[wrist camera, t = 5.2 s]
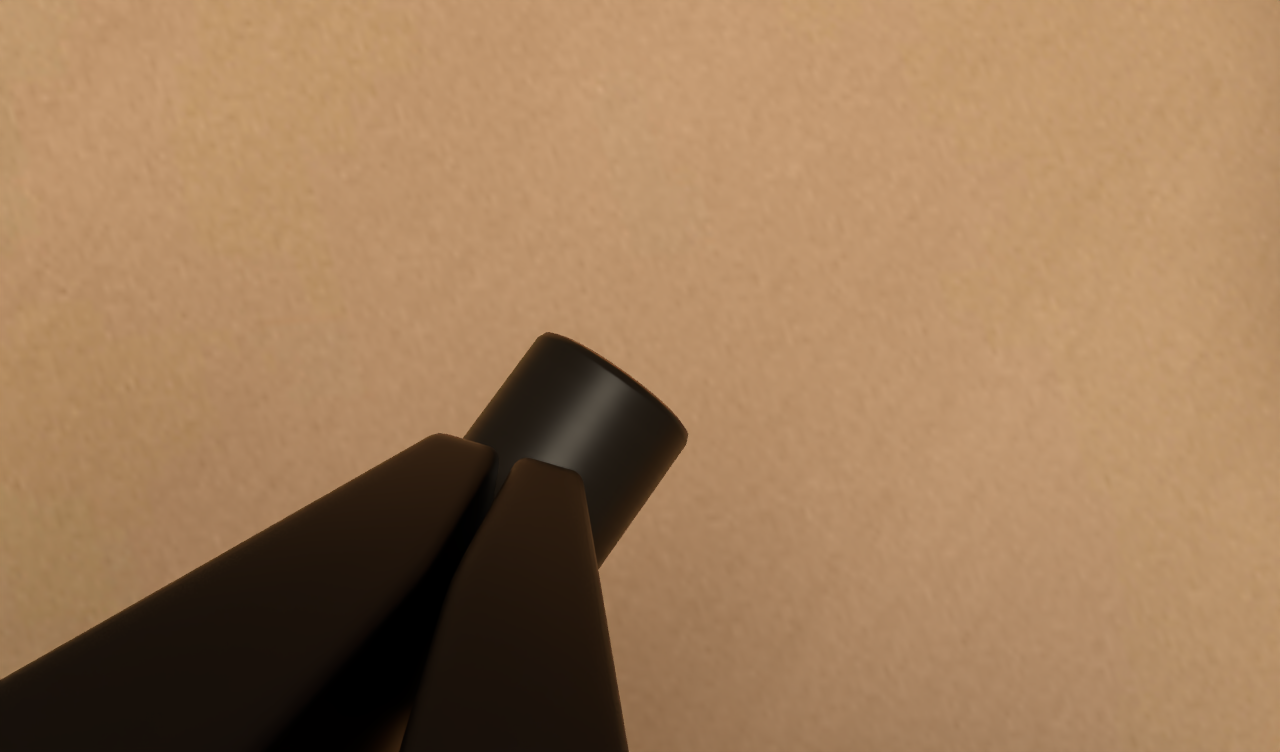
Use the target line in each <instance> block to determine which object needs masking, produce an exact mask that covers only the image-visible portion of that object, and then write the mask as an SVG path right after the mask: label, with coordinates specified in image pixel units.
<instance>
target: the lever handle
mask: <svg viewBox="0 0 1280 752" xmlns="http://www.w3.org/2000/svg"><path fill="white" fill-rule="evenodd" d="M687 438H688V433H687V430H686V429H685V427H684V426H683V424H682V423H681V421H680V420H679V419H678V417H677V416H676V415H675V414H674V413H673V412H672V411H671V410H670V409H669V408H668V407H667V406H666V405H665V404H664V403H663V402H662V401H661V400H660V399H658V398H657V397H656V396H655V395H654V394H653V393H651V392H650V391H649V390H648V389H647V388H645V387H644V386H643V385H642V384H640V383H639V382H638V381H636V380H635V379H634V378H632V377H631V376H630V375H628V374H627V373H626V372H624V371H623V370H621V369H620V368H619V367H617V366H616V365H614V364H613V363H611V362H610V361H608V360H607V359H605V358H604V357H602V356H600V355H599V354H597V353H596V352H594V351H592V350H591V349H589V348H587V347H585V346H584V345H582V344H580V343H578V342H576V341H574V340H572V339H569V338H567V337H564V336H561V335H558V334H554V333H550V332H547V333H545V334H543V335H541V336H539V337H538V338H537V339H536V340H535V342H534V343H533V345H532V346H531V347H530V349H529V350H528V351H527V353H526V354H525V355H524V357H523V358H522V359H521V361H520V362H519V363H518V365H517V366H516V367H515V369H514V370H513V372H512V373H511V374H510V376H509V377H508V378H507V380H506V381H505V382H504V384H503V385H502V386H501V388H500V389H499V390H498V392H497V393H496V394H495V396H494V397H493V398H492V400H491V401H490V403H489V404H488V405H487V407H486V408H485V409H484V411H483V412H482V413H481V415H480V416H479V417H478V419H477V420H476V421H475V423H474V424H473V425H472V427H471V428H470V430H469V431H468V432H467V434H466V435H465V436H464V438H463V439H466V440H469V441H473V442H476V443H480V444H483V445H487V446H490V447H492V448H493V449H494V450H495V451H496V452H497V455H498V458H499V468H498V475H497V480H496V486H495V492H494V497H493V501H494V499H495V498H496V496H497V494H498V492H499V490H500V489H501V487H502V485H503V483H504V481H505V480H506V478H507V476H508V474H509V472H510V471H511V469H512V467H513V465H514V464H515V463H516V462H517V461H518V460H520V459H523V458H532V459H535V460H539V461H542V462H546V463H549V464H553V465H557V466H560V467H564V468H567V469H571V470H574V471H576V472H577V473H578V474H579V475H580V476H581V478H582V480H583V483H584V488H585V494H586V500H587V506H588V512H589V518H590V524H591V530H592V536H593V542H594V548H595V554H596V560H597V566H598V569H599V568H600V566H601V565H602V564H603V562H604V561H605V559H606V558H607V557H608V555H609V554H610V552H611V551H612V549H613V548H614V547H615V545H616V544H617V542H618V541H619V539H620V538H621V537H622V535H623V534H624V532H625V531H626V529H627V528H628V527H629V525H630V524H631V522H632V521H633V519H634V518H635V517H636V515H637V514H638V512H639V511H640V509H641V508H642V507H643V505H644V504H645V502H646V501H647V500H648V498H649V497H650V495H651V494H652V492H653V491H654V490H655V488H656V487H657V485H658V484H659V482H660V481H661V480H662V478H663V477H664V475H665V474H666V472H667V471H668V470H669V468H670V467H671V465H672V464H673V462H674V461H675V460H676V458H677V457H678V455H679V454H680V453H681V451H682V450H683V448H684V447H685V445H686V442H687Z"/></svg>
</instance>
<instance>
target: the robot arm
mask: <svg viewBox="0 0 1280 752" xmlns="http://www.w3.org/2000/svg"><path fill="white" fill-rule="evenodd" d="M498 468H499V458H498V455H497V452H496V451H495V450H494V449H493V448H492V447H490V446H487V445H483V444H480V443H476V442H473V441H469V440H466V439H462V438H459V437H455V436H452V435H448V434H441V433H438V434H434V435H431V436H429V437H427V438H425V439H423V440H421V441H420V442H418V443H416V444H414V445H413V446H411V447H409V448H407V449H406V450H404V451H402V452H400V453H398V454H397V455H395V456H393V457H391V458H390V459H388V460H386V461H384V462H383V463H381V464H379V465H377V466H376V467H374V468H372V469H370V470H369V471H367V472H365V473H363V474H362V475H360V476H358V477H356V478H355V479H353V480H351V481H349V482H348V483H346V484H344V485H342V486H340V487H339V488H337V489H335V490H333V491H332V492H330V493H328V494H326V495H325V496H323V497H321V498H319V499H318V500H316V501H314V502H312V503H311V504H309V505H307V506H305V507H304V508H302V509H300V510H298V511H297V512H295V513H293V514H291V515H290V516H288V517H286V518H284V519H283V520H281V521H279V522H277V523H275V524H274V525H272V526H270V527H268V528H267V529H265V530H263V531H261V532H260V533H258V534H256V535H254V536H253V537H251V538H249V539H247V540H246V541H244V542H242V543H240V544H239V545H237V546H235V547H233V548H232V549H230V550H228V551H226V552H225V553H223V554H221V555H219V556H218V557H216V558H214V559H212V560H210V561H209V562H207V563H205V564H203V565H202V566H200V567H198V568H196V569H195V570H193V571H191V572H189V573H188V574H186V575H184V576H182V577H181V578H179V579H177V580H175V581H174V582H172V583H170V584H168V585H167V586H165V587H163V588H161V589H160V590H158V591H156V592H154V593H152V594H151V595H149V596H147V597H145V598H144V599H142V600H140V601H138V602H137V603H135V604H133V605H131V606H130V607H128V608H126V609H124V610H123V611H121V612H119V613H117V614H116V615H114V616H112V617H110V618H109V619H107V620H105V621H103V622H102V623H100V624H98V625H96V626H95V627H93V628H91V629H89V630H87V631H86V632H84V633H82V634H80V635H79V636H77V637H75V638H73V639H72V640H70V641H68V642H66V643H65V644H63V645H61V646H59V647H58V648H56V649H54V650H52V651H51V652H49V653H47V654H45V655H44V656H42V657H40V658H38V659H37V660H35V661H33V662H31V663H30V664H28V665H26V666H24V667H22V668H21V669H19V670H17V671H15V672H14V673H12V674H10V675H8V676H7V677H5V678H3V679H1V680H0V752H629V750H628V744H627V738H626V732H625V726H624V720H623V714H622V708H621V702H620V696H619V690H618V684H617V679H616V673H615V667H614V661H613V655H612V649H611V643H610V637H609V631H608V625H607V619H606V613H605V607H604V601H603V595H602V589H601V583H600V577H599V571H598V566H597V560H596V554H595V548H594V542H593V536H592V530H591V524H590V518H589V512H588V506H587V500H586V494H585V488H584V483H583V480H582V478H581V476H580V475H579V474H578V473H577V472H576V471H574V470H571V469H567V468H564V467H560V466H557V465H553V464H549V463H546V462H542V461H539V460H535V459H532V458H523V459H520V460H518V461H517V462H516V463H515V464H514V465H513V467H512V469H511V471H510V472H509V474H508V476H507V478H506V480H505V481H504V483H503V485H502V487H501V489H500V490H499V492H498V494H497V496H496V498H495V499H494V501H493V497H494V492H495V486H496V480H497V475H498Z"/></svg>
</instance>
